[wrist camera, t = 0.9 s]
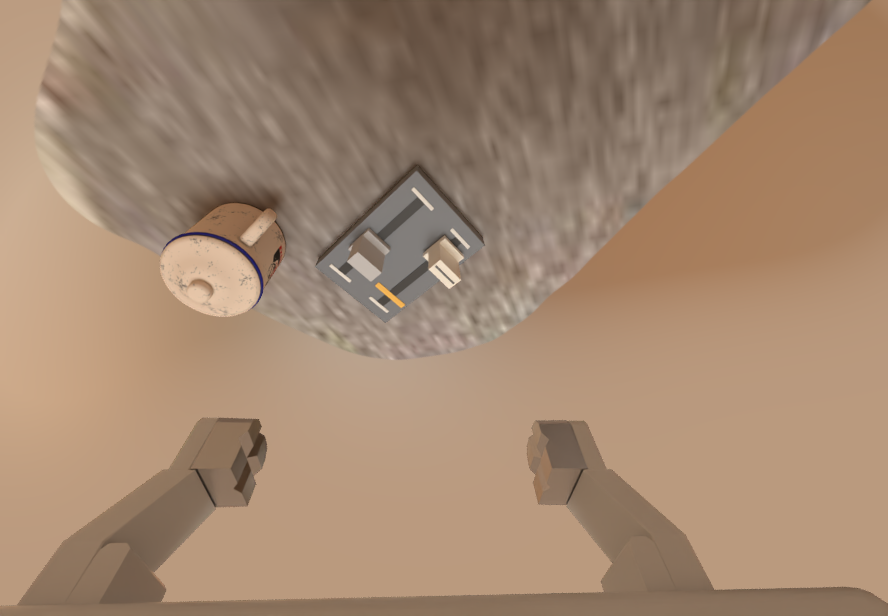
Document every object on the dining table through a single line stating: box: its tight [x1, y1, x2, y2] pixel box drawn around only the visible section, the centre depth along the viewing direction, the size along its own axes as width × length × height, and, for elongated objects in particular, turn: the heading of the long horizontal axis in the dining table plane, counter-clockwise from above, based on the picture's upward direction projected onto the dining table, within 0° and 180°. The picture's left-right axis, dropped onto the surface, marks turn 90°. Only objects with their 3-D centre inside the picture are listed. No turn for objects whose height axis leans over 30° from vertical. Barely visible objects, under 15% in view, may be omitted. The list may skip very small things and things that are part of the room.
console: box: [315, 166, 485, 323], centre depth 42 cm, size 16×11×7 cm
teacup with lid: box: [160, 203, 285, 317], centre depth 38 cm, size 12×9×12 cm
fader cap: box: [423, 235, 464, 289], centre depth 41 cm, size 3×3×5 cm
